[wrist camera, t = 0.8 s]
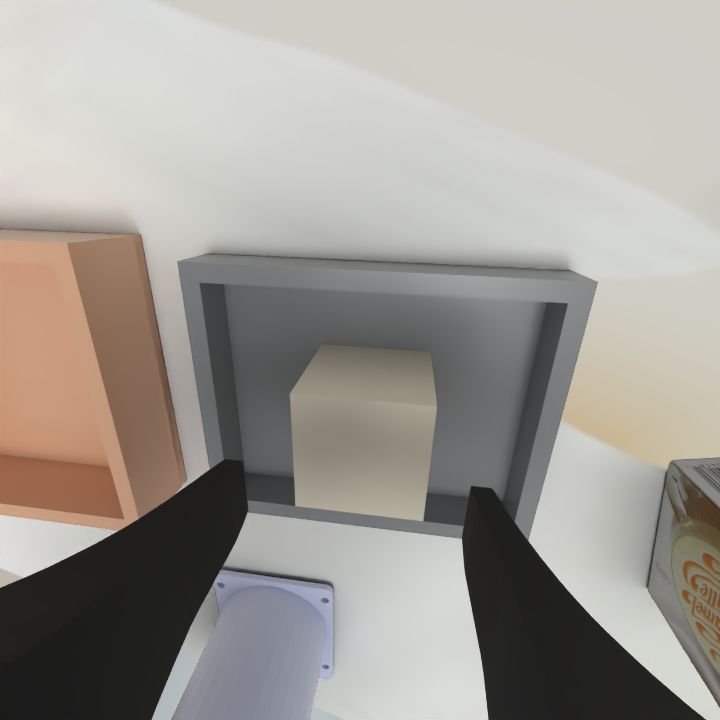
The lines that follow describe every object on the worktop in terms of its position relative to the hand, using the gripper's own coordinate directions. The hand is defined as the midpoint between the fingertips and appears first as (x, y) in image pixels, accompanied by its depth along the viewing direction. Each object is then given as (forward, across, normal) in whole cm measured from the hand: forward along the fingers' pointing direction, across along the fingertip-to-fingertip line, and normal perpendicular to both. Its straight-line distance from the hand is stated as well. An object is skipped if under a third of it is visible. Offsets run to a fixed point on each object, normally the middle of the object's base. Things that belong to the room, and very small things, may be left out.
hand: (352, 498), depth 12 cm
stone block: (+7, 0, 0) cm, 7 cm away
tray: (+7, 0, 0) cm, 7 cm away
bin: (+7, +18, 0) cm, 19 cm away
